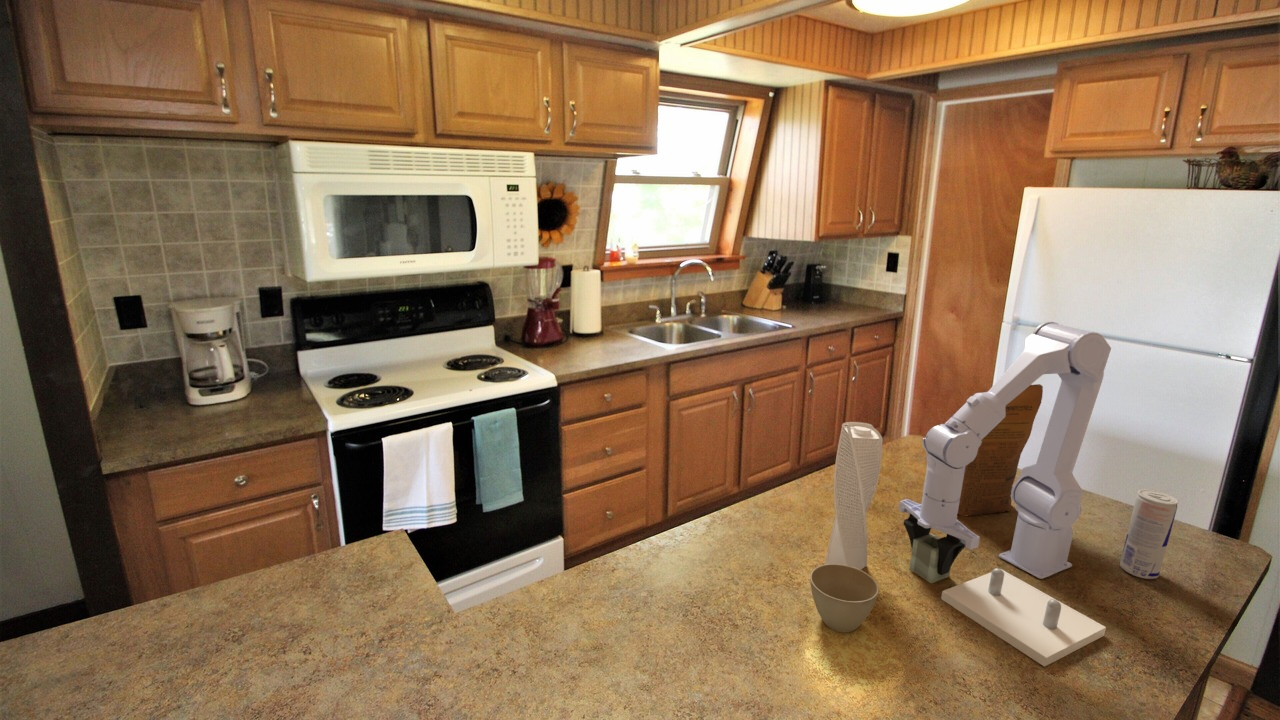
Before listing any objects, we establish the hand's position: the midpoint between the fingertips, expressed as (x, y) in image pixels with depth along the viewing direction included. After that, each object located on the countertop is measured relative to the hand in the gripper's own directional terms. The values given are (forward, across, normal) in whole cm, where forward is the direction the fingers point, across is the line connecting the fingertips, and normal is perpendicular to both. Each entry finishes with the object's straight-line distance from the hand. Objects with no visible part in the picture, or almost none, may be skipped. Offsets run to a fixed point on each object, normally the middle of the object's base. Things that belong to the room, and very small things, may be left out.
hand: (930, 564), depth 111 cm
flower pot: (+2, +3, -24) cm, 24 cm away
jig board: (+2, +14, +3) cm, 15 cm away
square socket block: (+2, 0, 0) cm, 2 cm away
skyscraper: (+2, -8, -12) cm, 15 cm away
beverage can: (+2, +16, +35) cm, 39 cm away
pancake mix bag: (+2, -11, +30) cm, 32 cm away
